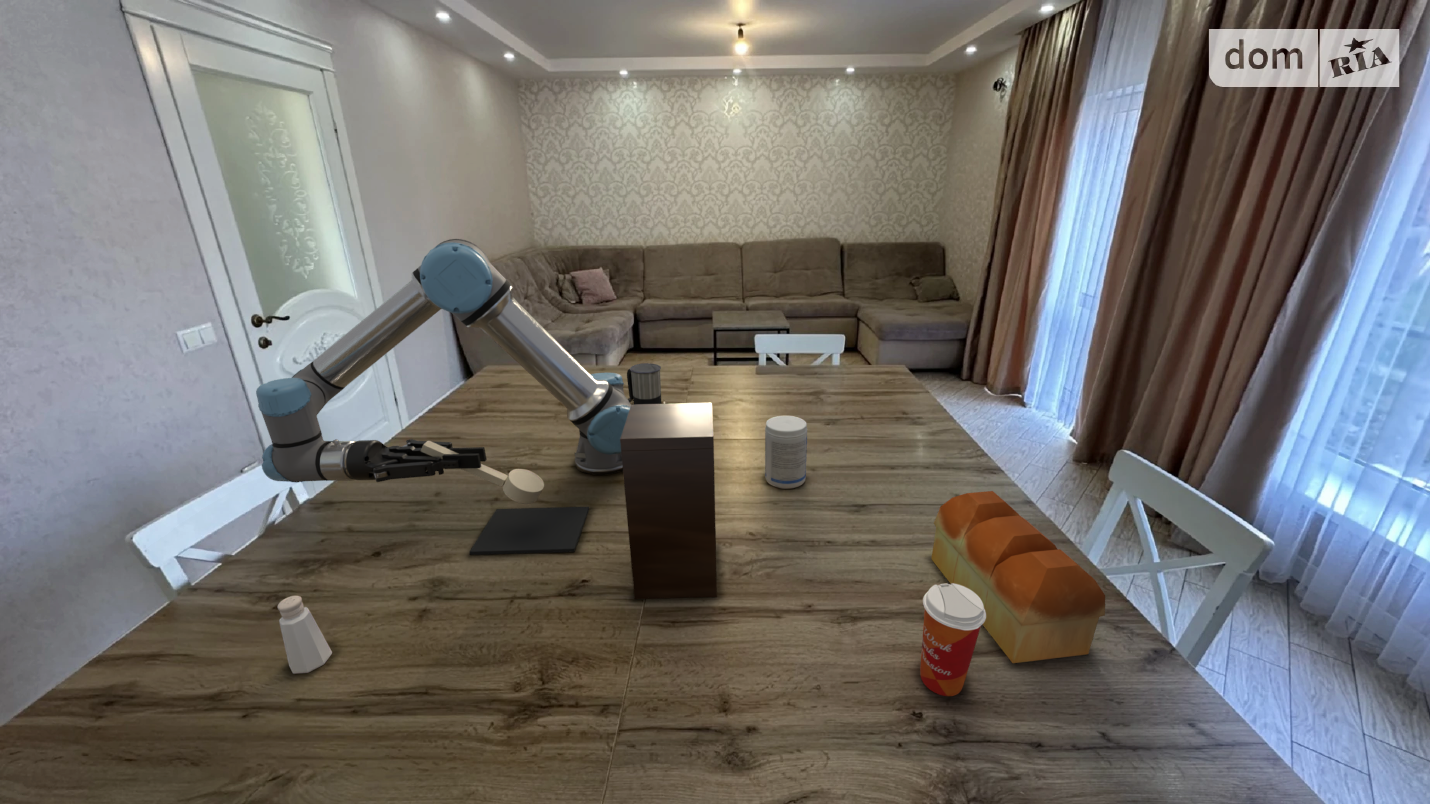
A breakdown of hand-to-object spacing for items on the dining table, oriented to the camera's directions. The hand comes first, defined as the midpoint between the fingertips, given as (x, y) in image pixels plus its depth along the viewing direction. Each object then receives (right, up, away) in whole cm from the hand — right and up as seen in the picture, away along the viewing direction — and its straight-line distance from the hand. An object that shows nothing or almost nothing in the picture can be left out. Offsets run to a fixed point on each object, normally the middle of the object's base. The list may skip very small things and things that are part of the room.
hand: (481, 457), depth 104 cm
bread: (+92, -23, -13) cm, 95 cm away
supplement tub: (+61, -8, +26) cm, 66 cm away
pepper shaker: (-16, -28, -22) cm, 39 cm away
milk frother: (+20, +6, +64) cm, 68 cm away
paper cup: (+76, -29, -27) cm, 86 cm away
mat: (+7, -16, +8) cm, 19 cm away
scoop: (-1, -3, +1) cm, 4 cm away
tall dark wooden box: (+37, -20, -4) cm, 43 cm away
